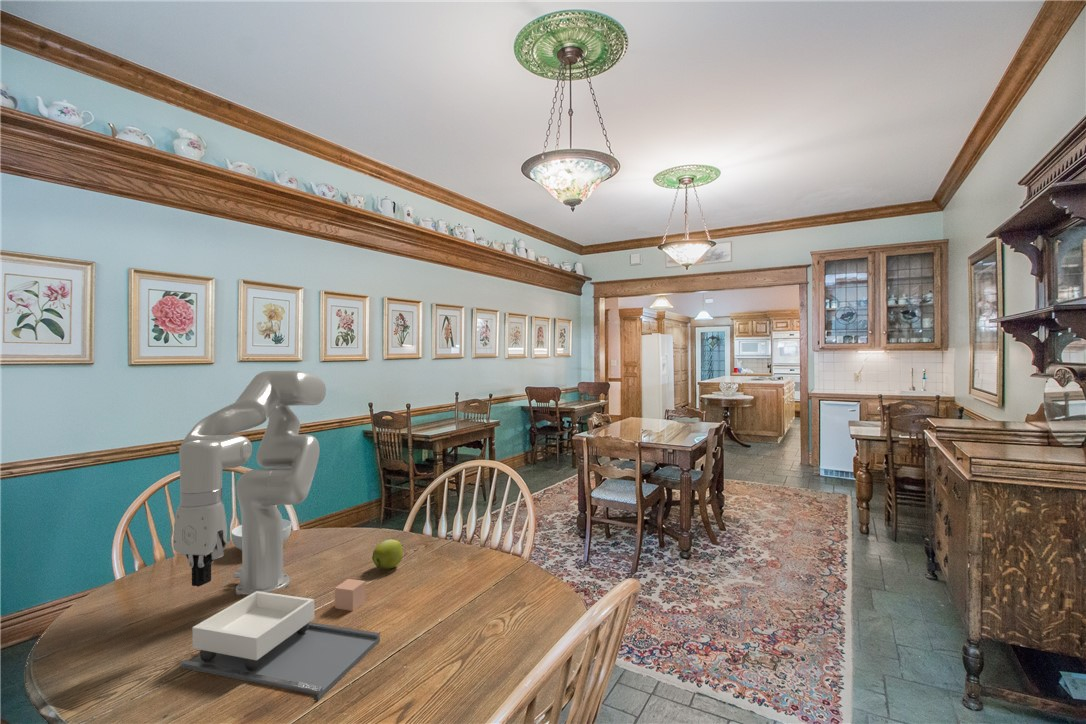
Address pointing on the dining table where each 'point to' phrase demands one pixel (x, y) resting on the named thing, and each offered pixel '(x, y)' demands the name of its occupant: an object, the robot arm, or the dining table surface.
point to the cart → (253, 626)
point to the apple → (388, 554)
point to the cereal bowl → (237, 533)
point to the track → (299, 660)
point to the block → (350, 594)
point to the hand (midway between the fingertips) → (201, 583)
